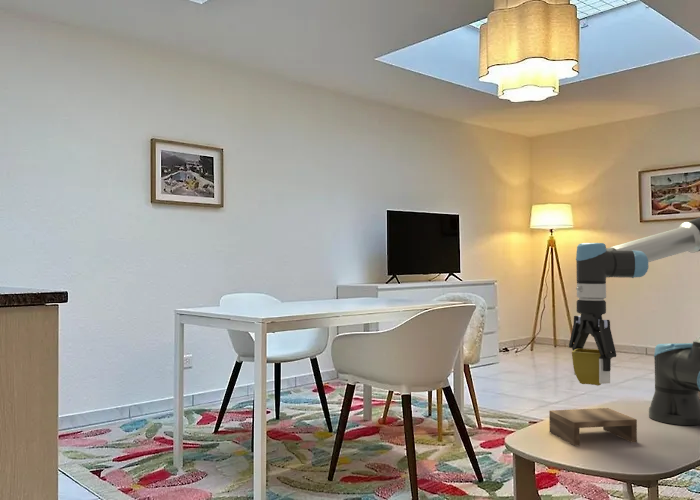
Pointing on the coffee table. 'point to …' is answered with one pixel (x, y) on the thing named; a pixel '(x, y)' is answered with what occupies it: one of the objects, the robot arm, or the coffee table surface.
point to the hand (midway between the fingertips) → (591, 378)
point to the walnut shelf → (591, 423)
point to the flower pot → (586, 365)
